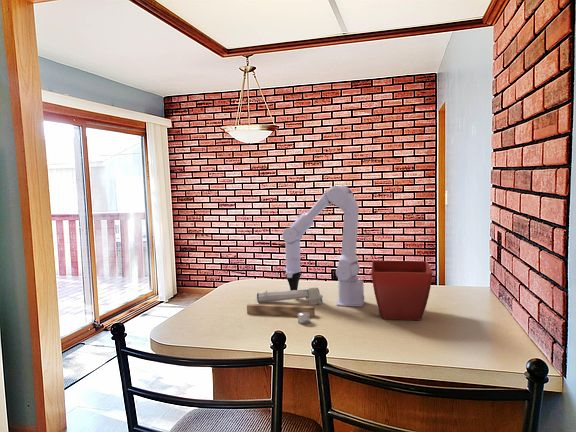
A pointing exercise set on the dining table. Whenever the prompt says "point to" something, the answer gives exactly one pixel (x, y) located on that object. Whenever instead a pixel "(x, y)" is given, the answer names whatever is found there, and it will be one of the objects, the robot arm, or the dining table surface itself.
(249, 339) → the dining table surface
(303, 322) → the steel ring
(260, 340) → the dining table surface
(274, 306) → the brown wooden bar
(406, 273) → the plant pot
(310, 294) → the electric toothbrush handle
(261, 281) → the dining table surface
